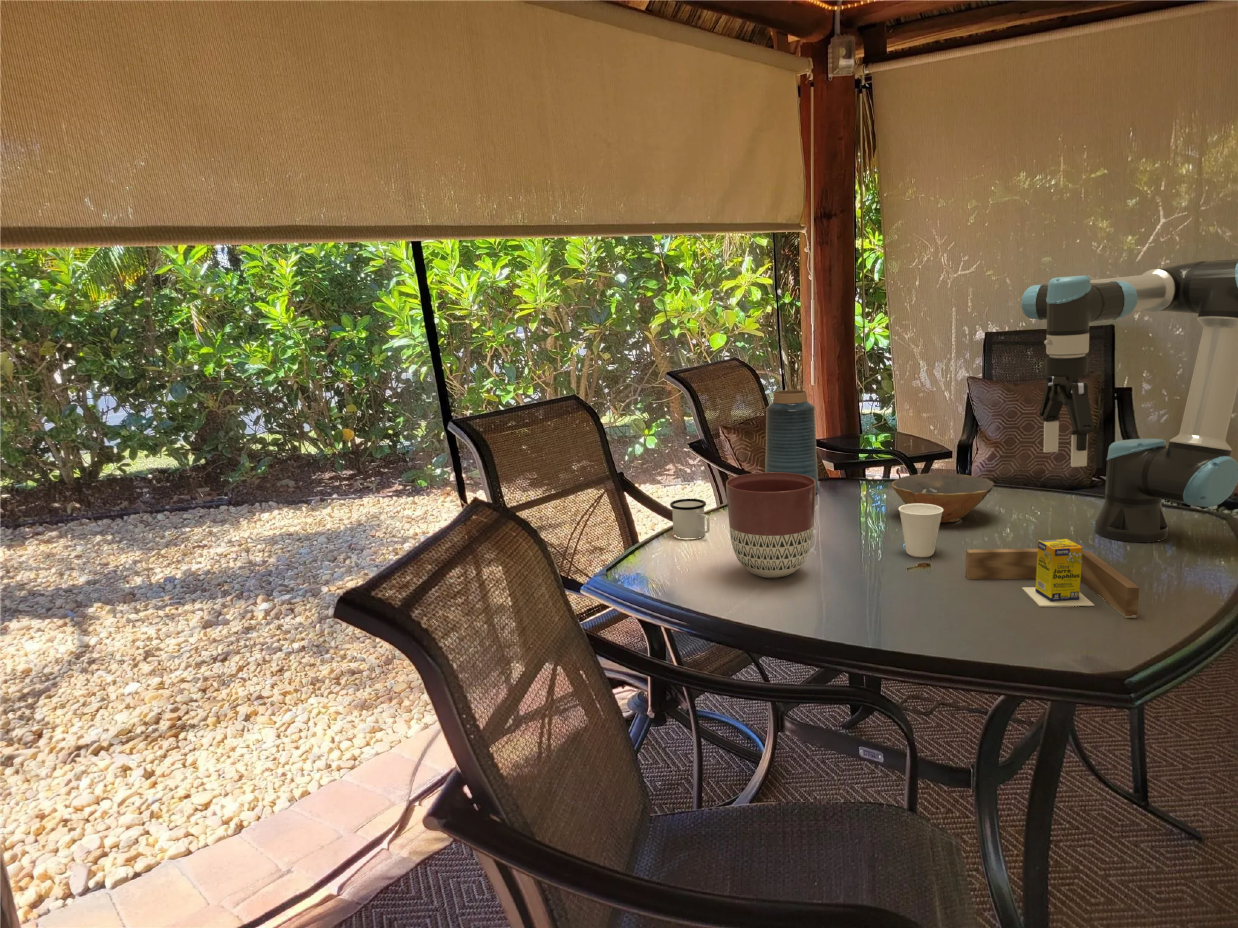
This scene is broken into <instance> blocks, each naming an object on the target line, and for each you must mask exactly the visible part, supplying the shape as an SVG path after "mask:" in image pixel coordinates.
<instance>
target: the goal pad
mask: <svg viewBox="0 0 1238 928" xmlns="http://www.w3.org/2000/svg"><path fill="white" fill-rule="evenodd" d="M1035 589H1036V586H1035V587H1033V586H1031V587H1025V586H1024V587H1021V590H1022V591H1024V593H1025V594H1026V595H1028V597H1029V598H1030V599H1031V600H1032V601H1033V602H1034V603H1036V606H1038V607H1040V608H1053V607H1054V608H1058V607H1059V608H1063V607H1065V608H1071V607H1072V608H1075V607H1077V606H1078V607H1079V606H1094V607H1095V604H1094V603H1093V602H1091V600H1090V599H1088V598H1087V597H1086V596H1085V595H1084V594H1083V593H1081V592H1080V595H1079V600H1062V601H1049V600H1048V599H1046V598H1045V597H1043V596H1042V595H1040V594H1039V593H1037V592H1036V591H1035ZM1074 606H1075V607H1074ZM1079 608H1080V607H1079Z"/></svg>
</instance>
